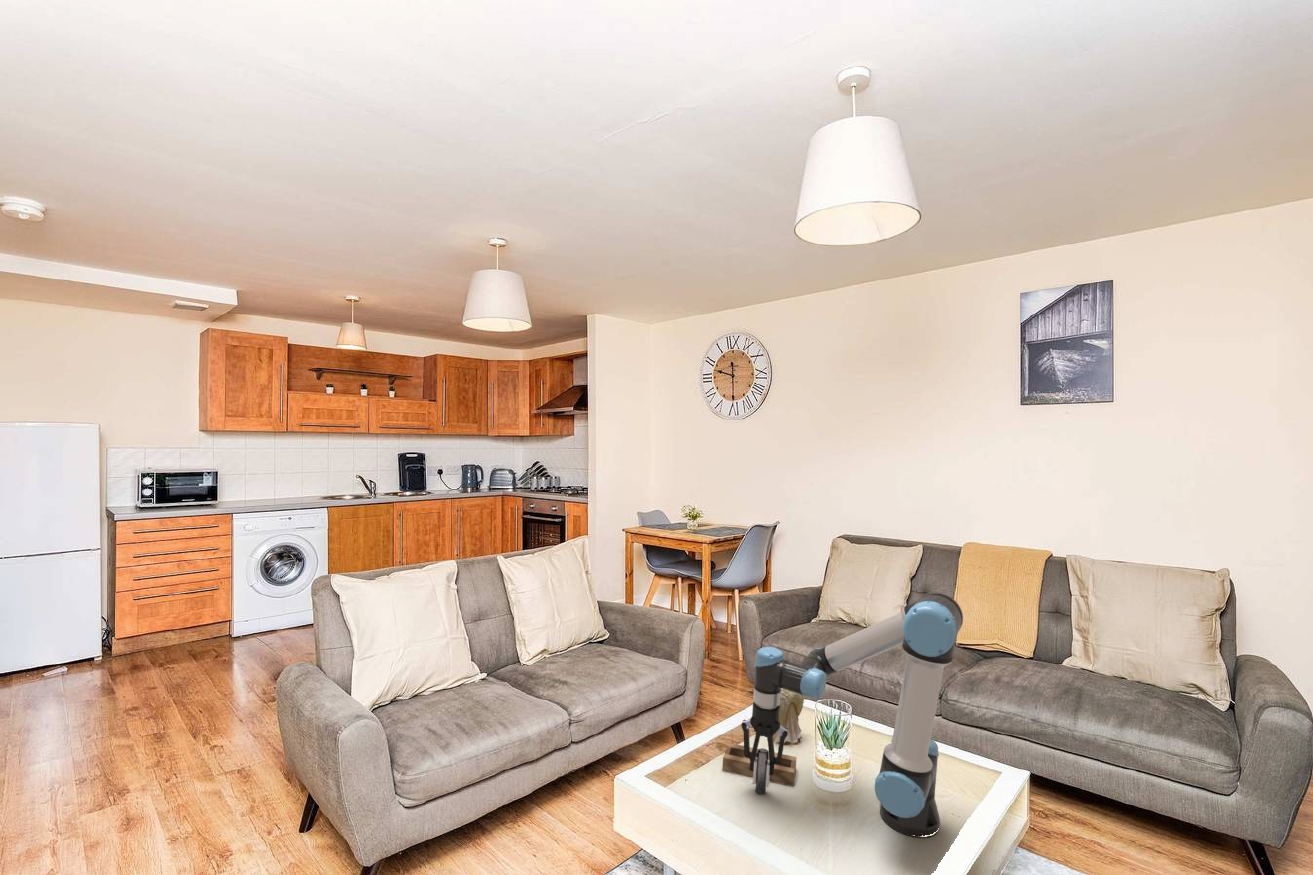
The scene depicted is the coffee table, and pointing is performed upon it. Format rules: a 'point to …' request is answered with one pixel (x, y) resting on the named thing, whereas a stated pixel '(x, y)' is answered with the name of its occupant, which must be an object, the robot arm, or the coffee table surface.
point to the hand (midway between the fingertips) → (761, 782)
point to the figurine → (790, 717)
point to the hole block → (741, 764)
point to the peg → (761, 771)
